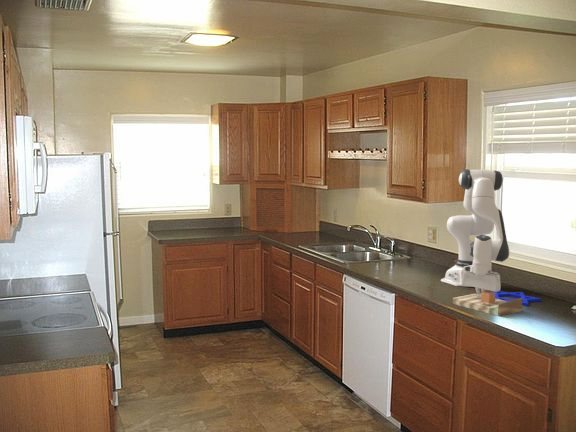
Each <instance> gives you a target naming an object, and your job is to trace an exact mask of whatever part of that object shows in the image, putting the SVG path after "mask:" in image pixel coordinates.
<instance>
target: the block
mask: <svg viewBox="0 0 576 432" xmlns="http://www.w3.org/2000/svg"><path fill="white" fill-rule="evenodd" d="M481 292H482V291H481ZM481 301H482V302H485V303H493V302H495V293H493V291H489V290H486V291H485V292H482V294H481Z"/></svg>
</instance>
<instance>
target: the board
mask: <svg viewBox="0 0 576 432" xmlns="http://www.w3.org/2000/svg"><path fill="white" fill-rule="evenodd" d="M514 299H515V300H511V301H504V300H500V299H495V302H493V303H485V302H482V301H481V298H480V297H477V293H471V294H467V295H466V294H465V295H462V296H457V297H452V305H455V306H459V307H462V308H467V309H470V310H474V311H479V312H481V313H486V314H489V315H494V316H496V315H497V317H503V315H504V316H507V314H508V315H511V313H512V314H515V312H516V313H521V312H523V305H522V298H514Z"/></svg>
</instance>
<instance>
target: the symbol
mask: <svg viewBox="0 0 576 432" xmlns="http://www.w3.org/2000/svg"><path fill="white" fill-rule="evenodd" d="M492 292H493V291H492ZM493 293H495V299H500V300H504V301H511V300H515V299H520V298H522V306H526V307H529V303H536V302H542V298H539V297H534V296H528V295H525V294H524V292H523V291H516V292H508V291H507V292H506V291H501V290H500V291H498V292H493ZM501 296H503V297H501ZM505 297H511V298H514V299H511V298H505Z"/></svg>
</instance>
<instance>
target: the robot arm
mask: <svg viewBox="0 0 576 432" xmlns="http://www.w3.org/2000/svg"><path fill="white" fill-rule="evenodd" d="M503 177H504V176H503V174H502V172H501V171H499V170H492V169H483V168H481V169H469V168H468V169H463V170H461V171H460V174H459V176H458V183H459V186H460V188H462V189H464V196H463V202H462V204H463V208H464V210H465V211H467V212H469V213H471V214H470V215H453V216H450V217H449V218H448V219H447V222H446V229H447V231H448V232H449V233H450V234H451V235H452V236H453V237H454V239H455V240H456V242H457V247H458V258H457V259H455V260H454V261H453V262H454V263H455V264H454V265H453V266H452V267H450V268H449V269H447V270H446V272H445V275H444V277H443V278H441V279H440V282H442V283H446V284H448V285H452V286H455V287H466V288H467V287H469V288H471V287H473V288H475V293H476V294H477V297H480V298H481V294H482V292H485V291H490V292H498V291H501V287H502V286H501V274H499V272H497V271H492V266H493V265H492V261H495V262H500V263H501V262H502V263H503V262H505V261H506V260H507V259H508V258H509V257H510V246H509V244H508V239H507V232H506V227H505V223H504V222H505V221H504V217H503V213H502V211H501V209H499V208H498V207H497V205H496V201H495V198H496V197H495V196H496V194H495V193H496V192H495V191H498V190H500V189H501V188H502V185H503V182H504V178H503ZM494 228H495V230H496V236H497V240H492V237H491V236H489V235H490V234H491V233H493V231H494ZM470 236H475V237H474V240H471V239H470Z"/></svg>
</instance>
